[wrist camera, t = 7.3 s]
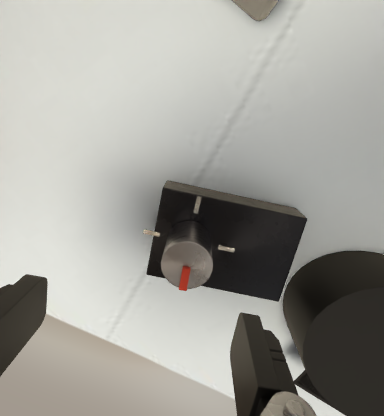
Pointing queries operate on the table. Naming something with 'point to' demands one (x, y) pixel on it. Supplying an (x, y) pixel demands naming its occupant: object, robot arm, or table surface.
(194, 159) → the table surface
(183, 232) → the knob
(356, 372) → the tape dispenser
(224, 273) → the panel
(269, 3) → the power adapter
